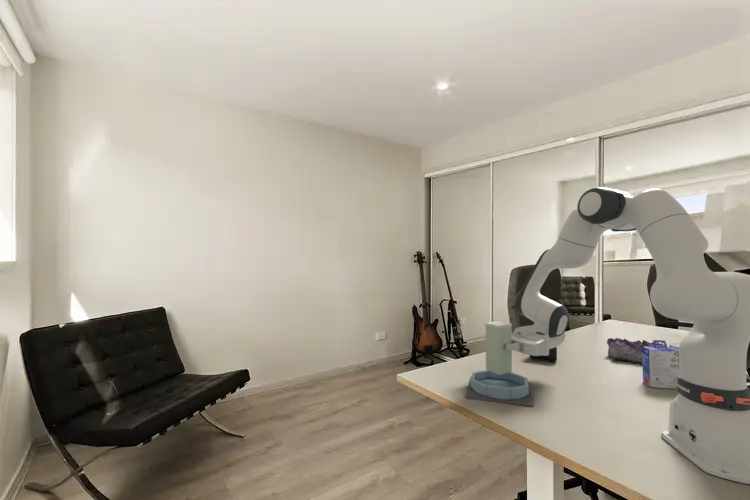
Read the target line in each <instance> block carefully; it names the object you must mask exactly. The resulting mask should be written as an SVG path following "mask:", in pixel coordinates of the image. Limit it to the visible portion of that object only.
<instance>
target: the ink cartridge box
mask: <svg viewBox="0 0 750 500" xmlns="http://www.w3.org/2000/svg"><path fill="white" fill-rule="evenodd" d="M652 342H653V343H654V347H642V364H641V366H642V367H641V368H642V383H643V384H645V385H647V387H648V388H659V389H662V388H663V389H672V390H673V389H676V390H677V384H676V381H677V376H678V375H679V349H677V348H674V347H669V346H668V345H667V344H668V343H667V342H666V340H664V339H663V340H661V339H660V340H659V339H658V340H657V339H653V340H652ZM656 343H660V344H661V343H662V344H663V345H657V344H656Z"/></svg>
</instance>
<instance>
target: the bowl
mask: <svg viewBox="0 0 750 500" xmlns="http://www.w3.org/2000/svg"><path fill="white" fill-rule="evenodd" d="M471 373H472V375H470V376H471V377H470V379H471V388H472V389H473V390H474V391H475V392H476V393H478V394H480V395H483V396H486V397H490V398H494V399H502V400H515V399H521V398H524V397H526V396H527V395H528V394H529V385H528V382H529V379H528V377H525V376H523V375H520V374H518V373H515V372H513V371H512V372H509V373H505V374H500V375H499V374H496V373H493V372H491V371H488V370H486V369H484V370H477V371H473V372H471Z"/></svg>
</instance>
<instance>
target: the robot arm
mask: <svg viewBox="0 0 750 500" xmlns="http://www.w3.org/2000/svg"><path fill="white" fill-rule="evenodd" d="M576 206H577V207H576V208H575V209H574V210H572V211H571V212H570V214H569V215H568V217H567V218H566V220H565V221H564V224H563V226H562V228H561V230H560V233H559V235H558V236H557V240H556V241H555V243H554V245H553V246H552V247H551V248H550V249H546V250H544V251H543V252H542V254H541V255H540V256H539V257H538V260H537V261H536V263H535V265H534V266H533V268H532V270H531V272H530V273H529V275H528V277H527V279H526V281H525V283H524V285H523V286H522V288H521V289H520V290H519V292H518V293H517V294H516V296H515V297H514V300H513V302H514V303H513V305H514V309H515V311H516V313H517V314H518V315H520V316H522V317H524V318H526V319H529V320H530V321H532V322H533V324H531V325H524V326H519V327H516V328H515V329H514V330H513V332H511V340H512V344H504V345H503V347H504V348H503V349H504V350H507V351H510V350H512V351H514V352H519V353H520V354H524V355H532V356H541V355H543V356H547V355H549V349H551V348H554V347H556V346H557V347H558V346H560V345H562V343H563V342H564V341H565V338H566V329H568V326H569V322H570V318H569V317H570V316H569V312H568V309H567V307H566V306H564V305H563V304H560V303H559V302H557V301H556V300H553V299H550V298H549V297H547V296H545V295H542V294H541V288H542V287H543V285H544V283H545V282H546V279H547V278H548V276H549V275H550V273H551V272H552V271H554V270H556V269H557V270H558V269H577V268H581V267H583V266H585V265H587V264H588V263H589V262H590V261H591V259H592V257H593V255H594V253H595V251H596V248H597V246H598V243H599V240H600V238H601V235H602V234H603V233H605V232H606V231H609V230H610V231H612V232H633V231H636V232H637V233H638V235H639V237H640V238H641V240H642V242H643V244H644V245H645V247H646V249H647V251H648V252H649V254H650V256H651V258H652V260H653V263H654V266H655V270H656V271H655V272H656V278H655V281H654V282H653V284H652V286H651V288H650V291H649V296H650V297H649V298H650V302H651V304H652V306H653V308H654V310H656V312H657V313H659V314H660V315H661V316H663V317H666V318H667V319H672V320H677V321H683V322H688V323H689V322H694V323H693V326H692V328H691V330H690V331H689V333H688V334H687V335H686V336H684V337H683V338H682V339H681V341H680V345H679V375H678V376H677V381H676V384H677V389H676V392H677V395H676V396H675V398H673V399H672V400H671V401H670V403H669V410H668V411H669V415H668V429H667V430H663V431H661V433H660V434H661V435H660V436H661V438H662V439H663V440H665V441H666V442H667V443H668V444H670V445H671V446H672V447H674V448H675V449H676V450H677V451H679V453H681V454H682V455H683V456H685V457H686V458H687V459H688V460H689V461H691V462H692V463H694V464H695V465H696V466H698V468H699V469H700V470H702V471H704V472H705V473H707V474H710V475H712V476H715V477H718V478H722V479H726V480H728V481H734V482H738V483H741V484H748V485H750V388H749V387H748V386H747V357H748V355H747V354H748V349H749V346H750V345H749V344H750V274H747V273H742V272H736V271H712V270H711V269H710V268H709V267H708V265H707V263H706V260H705V256H704V254H705V253H706V252H707V250H708V249H709V242H708V239H707V238H706V236H705V235H704V233H703V232H702V231H701V229H700V228H699V227H698V225H697V224H696V222H695V221H694V220H693V218H692V217H691V215H690V214H689V213H688V212H687V210H686V209H685V208H684V206H683V205H682V204H681V203H680V202H679V201H678V200H677V199H676V198H674V196H672V195H671V194H670V193H669V192H668V191H667V190H664V189H660V188H651V189H650V188H649V189H647V190H644V191H641V192H640V193H638V194H637V195H635V194H632V193H629V192H626V191H624V190H619V189H613V188H609V187H605V186H603V187H601V186H599V187H592V188H589V189H587V190H586V191H585V192H583V193H582V195H581V196H580V198H579V199H578V202H577V205H576ZM484 335H485V336H484V337H485V338H484V339H485V342H486V332H485V333H484Z"/></svg>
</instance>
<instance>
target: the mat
mask: <svg viewBox="0 0 750 500" xmlns="http://www.w3.org/2000/svg"><path fill="white" fill-rule="evenodd" d="M528 385H529V394H528V395H527V396H526V397H524V398H521V399H515V400H502V399H494V398H490V397H486V396H483V395H480V394H478V393H476V392H475V391H474V390H473V389H472V388H471V378H470V379H469V383H468V386H467V390H466V392H465V394H464V395H465V396H464V398H465V399H470V400H478V401H485V402H493V403H499V404H506V405H507V404H508V405H514V406H522V407H531V408H534V407H535V405H534V399H533V392H532V387H531V386H532V385H531V381H528Z"/></svg>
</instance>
